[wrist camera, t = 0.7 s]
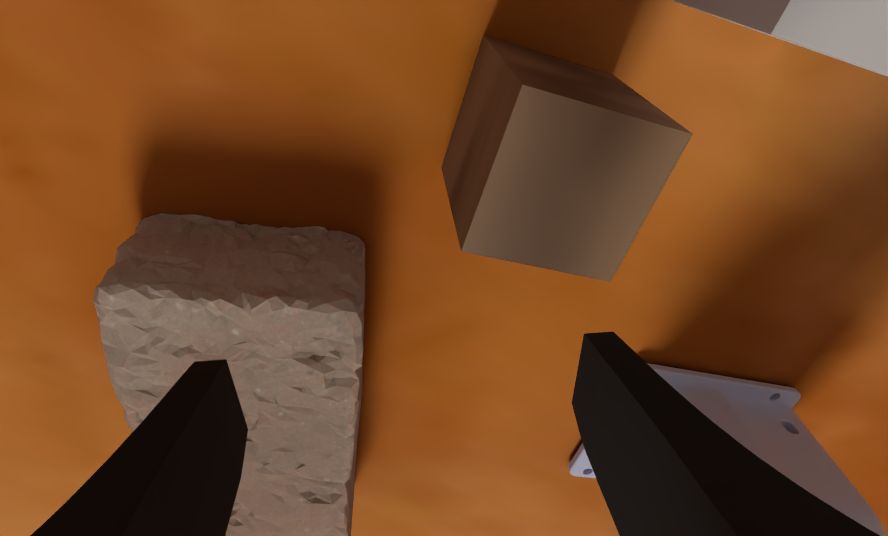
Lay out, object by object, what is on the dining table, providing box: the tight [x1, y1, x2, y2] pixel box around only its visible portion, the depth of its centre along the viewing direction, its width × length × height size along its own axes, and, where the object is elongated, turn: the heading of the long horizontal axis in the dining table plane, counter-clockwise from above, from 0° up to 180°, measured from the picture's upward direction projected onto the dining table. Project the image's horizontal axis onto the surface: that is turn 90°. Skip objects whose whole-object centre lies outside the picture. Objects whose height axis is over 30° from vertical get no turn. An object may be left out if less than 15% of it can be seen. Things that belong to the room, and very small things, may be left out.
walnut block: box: [442, 35, 692, 282], centre depth 16 cm, size 4×4×6 cm
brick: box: [94, 213, 366, 536], centre depth 22 cm, size 17×8×5 cm, turn 172°
